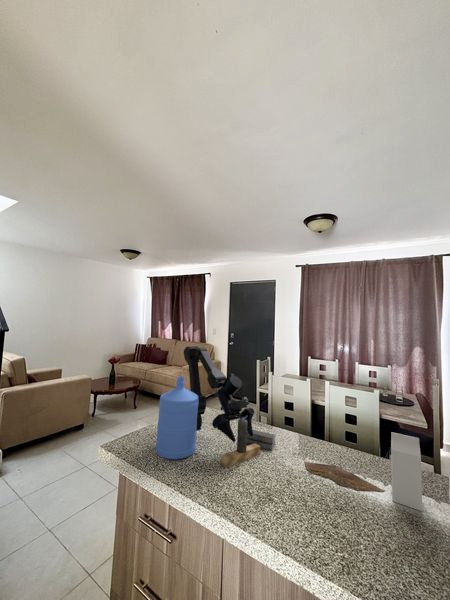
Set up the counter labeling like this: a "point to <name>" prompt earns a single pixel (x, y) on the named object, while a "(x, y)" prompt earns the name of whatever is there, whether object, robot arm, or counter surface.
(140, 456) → the counter surface
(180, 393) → the water jug
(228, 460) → the tan grey t-shaped tool
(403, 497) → the milk carton
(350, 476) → the wooden fragment
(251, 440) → the ridge stand
